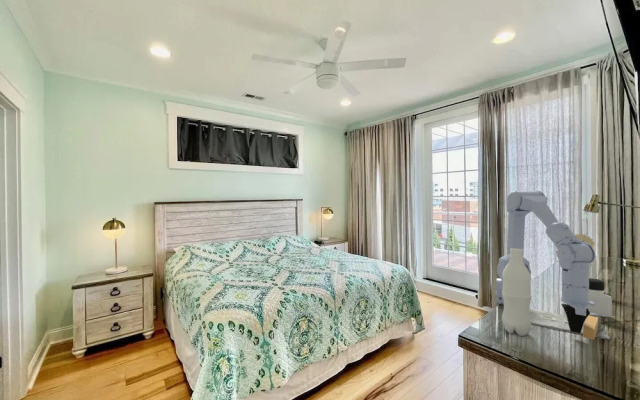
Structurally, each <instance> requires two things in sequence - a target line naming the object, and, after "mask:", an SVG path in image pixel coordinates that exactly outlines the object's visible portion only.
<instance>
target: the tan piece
mask: <svg viewBox="0 0 640 400" xmlns="http://www.w3.org/2000/svg"><path fill="white" fill-rule="evenodd" d="M601 326H602V317H601V315H599V314H597V313H592V312H590V314H589V316H588V317H587V318H586V321H585V324H584V326H583V335H582V337H583V338H586V339H588V340H591V341H592V340H593V341H595V339H596V337H595V336H596V333H597V329H598V327H601Z"/></svg>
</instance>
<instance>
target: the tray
mask: <svg viewBox="0 0 640 400" xmlns="http://www.w3.org/2000/svg"><path fill="white" fill-rule="evenodd" d="M529 311H530V319H531V326H538V327H542V328H543V327H544V328H548V329H552V330H553V329H554V330H558V331H562V332H568V333H572V334H577V335H582V336H583V327H582V330H581V333H575V332H571V331H570V328H569V325H568V320H567V316H566V314H563V313H556V312H551V311H545V310H539V309H533V308H530V309H529ZM585 321H586V319H585ZM585 321H584V324H585ZM584 324H583V326H584ZM595 338H597V339H604V340H608V341H610V340H611V337H610V336H609V334H608V333H607V332H606V331H605V327H604V326H602V325H601V327H598V329H597V333H596V336H595Z"/></svg>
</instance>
